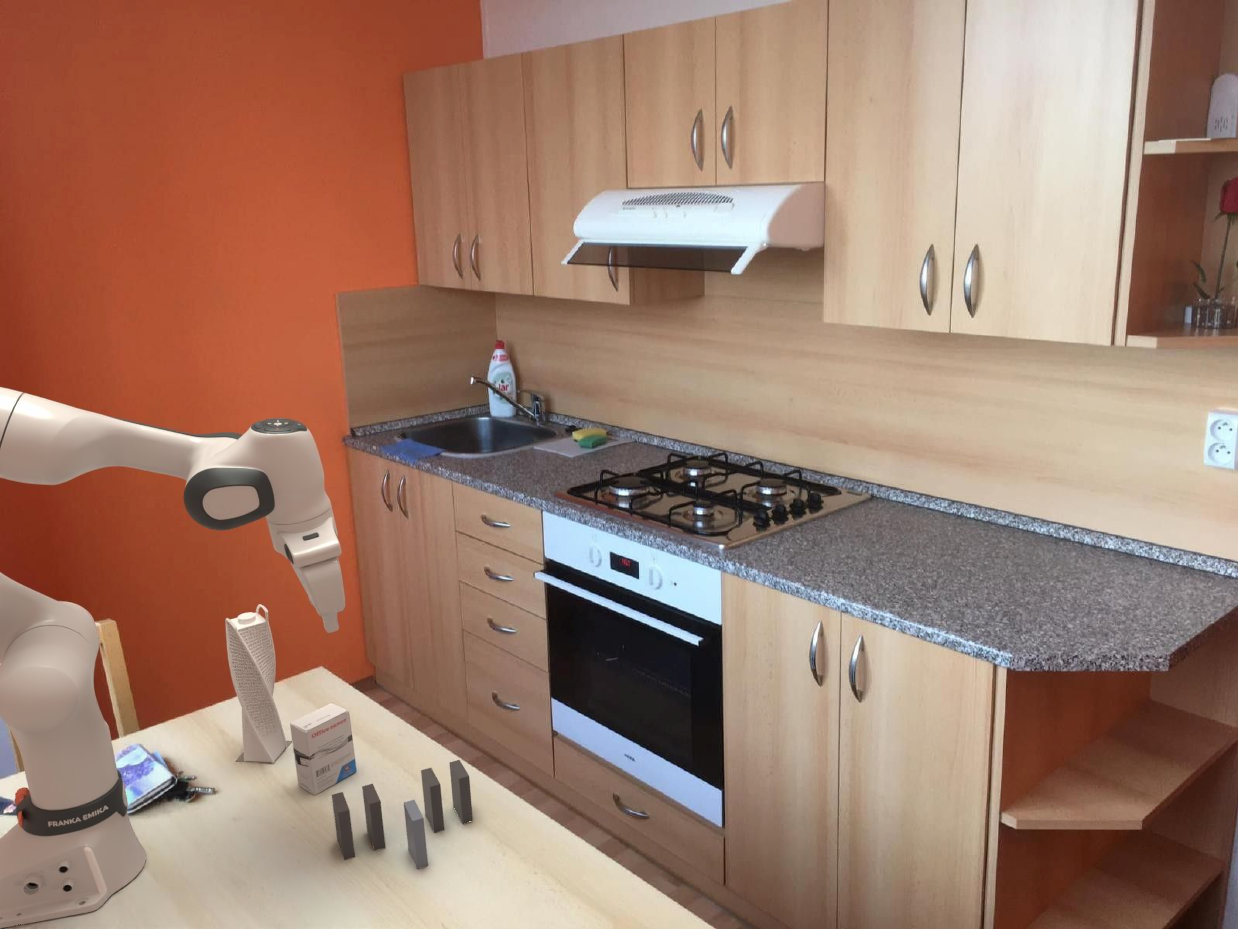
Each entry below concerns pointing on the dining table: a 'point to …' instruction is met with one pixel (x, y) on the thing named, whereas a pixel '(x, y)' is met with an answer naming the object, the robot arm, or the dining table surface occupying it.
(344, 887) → the dining table surface
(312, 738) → the ink box
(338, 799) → the domino
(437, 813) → the domino
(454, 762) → the domino
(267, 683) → the skyscraper
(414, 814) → the domino
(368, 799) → the domino
